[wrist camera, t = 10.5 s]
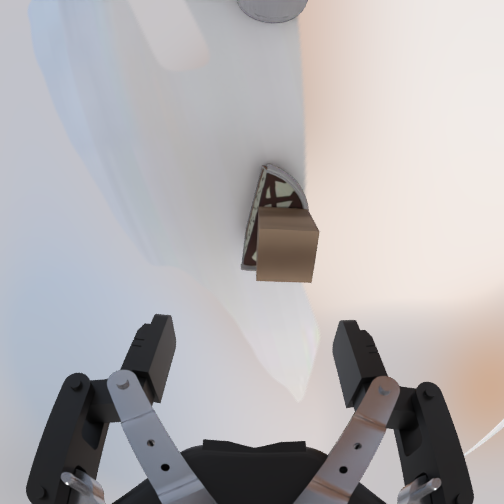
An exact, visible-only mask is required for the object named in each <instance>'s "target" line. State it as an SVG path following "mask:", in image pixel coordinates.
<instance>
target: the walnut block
mask: <svg viewBox="0 0 504 504" xmlns="http://www.w3.org/2000/svg"><path fill="white" fill-rule="evenodd" d="M318 238H319V230H318V228H317V226H316V224H315V222H314V220H313V219H312V217H311V215H310V213H309V211H308V209H296V208H279V207H259V210H258V230H257V249H256V281H275V282H308V283H311V282H312V276H313V270H314V264H315V258H316V251H317V244H318Z"/></svg>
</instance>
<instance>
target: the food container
mask: <svg viewBox="0 0 504 504" xmlns="http://www.w3.org/2000/svg"><path fill="white" fill-rule="evenodd" d="M259 207H279V208H296V209H308V203H307V199H306V197H305V194H304V192H303V190H302V188H301V187H300V186H299V184H298V183H297V182H296V180H295V179H294V178H293V177H292V176H291V175H289V174H288V173H287V172H285V171H284V170H282V169H280V168H278V167H276V166H273V165H271V164H268V165H267V167H266V166H263V165H262V169H261V173H260V176H259V180H258V184H257V188H256V192H255V196H254V199H253V203H252V207H251V211H250V215H249V219H248V223H247V226H246V232H245V241H244V249H243V258H242V264H241V270H246V271H256V249H257V230H258V210H259ZM308 211H309V209H308Z"/></svg>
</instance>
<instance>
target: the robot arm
mask: <svg viewBox="0 0 504 504" xmlns="http://www.w3.org/2000/svg"><path fill="white" fill-rule="evenodd" d="M237 1H238V4H239V6H240V8H241V9H242V10H243V11H244V12H245V13H246V14H247V15H249V16H250V17H252V18H254V19H256V20H260V21H263V22H270V23H279V22H285V21H288V20H291V19H293V18H295V17H296V16H298V15H299V14H300V13H301V12H302V11H303V9H304V7H305V6H306V3H307V1H308V0H237ZM175 348H176V337H175V332H174V327H173V322H172V317H171V315H161V314H155V315H154V318H153V320H152V322H151V324H144V325H143V326H142V327H141V328H140V329H139V330H138V331H137V333H136V335H135V337H134V340H133V342H132V344H131V346H130V349H129V351H128V353H127V355H126V358H125V360H124V363H123V365H122V367H121V369H120V370H119V371H116V372H114V373H113V374H111V375H110V376H109V378H108V379H105V380H93V381H92V380H91V381H90V380H89V378H88V377H87V376H86V375H85V374H83V373H74V374H72V375H70V376H68V377H67V378H66V379H65V381H64V383H63V385H62V388H61V390H60V392H59V394H58V397H57V399H56V402H55V404H54V406H53V409H52V411H51V414H50V416H49V419H48V421H47V424H46V427H45V429H44V432H43V435H42V438H41V441H40V443H39V446H38V449H37V452H36V455H35V458H34V461H33V465H32V468H31V471H30V475H29V478H28V482H27V486H26V493H27V496H28V499H29V500H30V502H31V503H32V504H106V503H105V501H104V491H103V488H102V486H101V485H100V484H99V483H98V482H97V481H96V477H97V472H98V467H99V463H100V459H101V455H102V451H103V446H104V442H105V439H106V435H107V431H108V427H109V423H110V422H122V423H121V425H122V428H123V430H124V432H125V434H126V436H127V439H128V441H129V443H130V445H131V447H132V449H133V451H134V453H135V455H136V457H137V459H138V461H139V463H140V465H141V467H142V468H143V470H144V472H145V474H146V476H147V477H148V478H147V479H146V480H144V481H143V482H142V483H140V484H139V485H138V486H136V487H135V488H133V489H132V490H131V491H129V492H128V493H126V494H125V495H124V496H122V497H121V498H119V499H118V500H116V501H115V502H114V503H112V504H386V503H385V502H384V501H382V500H381V499H380V498H378V497H377V496H376V495H375V494H373V493H372V492H371V491H370V490H368V489H367V488H366V487H365V486H364V485H362V484H361V483H360V482H359V481H360V480H361V478H362V476H363V475H364V473H365V471H366V469H367V467H368V466H369V464H370V462H371V460H372V458H373V456H374V454H375V452H376V450H377V449H378V446H379V445H380V443H381V440H382V438H383V436H384V434H385V432H386V429H387V428H389V429H394V434H395V438H396V443H397V447H398V451H399V457H400V461H401V467H402V472H403V477H404V483H405V487H403V489H401V491H400V492H399V495H398V502H397V504H472V503H473V499H474V494H473V490H472V485H471V481H470V477H469V473H468V469H467V466H466V462H465V458H464V455H463V452H462V449H461V446H460V442H459V439H458V436H457V433H456V430H455V427H454V424H453V421H452V418H451V416H450V413H449V410H448V408H447V405H446V402H445V400H444V397H443V395H442V392H441V390H440V389H439V387H438V386H437V385H435V384H434V383H431V382H423V383H421V384H420V385H419V386H418V387H417V388H416V389H414V388H407V387H401V386H399V385H398V383H397V382H396V381H395V380H394V379H393V378H391V377H388V375H387V373H386V371H385V368H384V366H383V363H382V360H381V358H380V355H379V353H378V350H377V348H376V347H375V343H374V341H373V338H372V336H370V334H369V333H367V331H366V330H360V329H359V326H358V324H357V322H356V321H355V320H341V321H340V322H339V325H338V328H337V332H336V335H335V339H334V342H333V356H334V360H335V364H336V368H337V372H338V376H339V380H340V384H341V388H342V392H343V396H344V400H345V405H346V408H350V407H354V409H355V413H354V414H353V416H352V418H351V420H350V421H349V423H348V425H347V426H346V428H345V430H344V431H343V433H342V434H341V436H340V438H339V439H338V441H337V442H336V444H335V445H334V447H333V448H332V450H331V451H330V453H329V454H328V455H327V454H325V453H323V452H321V451H318V450H316V449H313V448H309V447H306V443H305V441H298V442H279V443H275V444H271V445H266V446H262V447H257V448H253V447H248V446H244V445H240V444H236V443H233V442H229V441H217V440H206V439H205V440H203V445H200V446H195V447H191V448H189V449H186V450H184V451H182V452H179V451H178V449H177V448H176V446H175V444H174V443H173V441H172V440H171V438H170V436H169V435H168V433H167V431H166V430H165V428H164V426H163V425H162V423H161V421H160V419H159V418H158V416H157V414H156V412H155V411H154V410H153V408H152V404H153V402H157V403H161V399H162V395H163V391H164V388H165V384H166V381H167V377H168V373H169V370H170V366H171V363H172V359H173V356H174V352H175Z"/></svg>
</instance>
